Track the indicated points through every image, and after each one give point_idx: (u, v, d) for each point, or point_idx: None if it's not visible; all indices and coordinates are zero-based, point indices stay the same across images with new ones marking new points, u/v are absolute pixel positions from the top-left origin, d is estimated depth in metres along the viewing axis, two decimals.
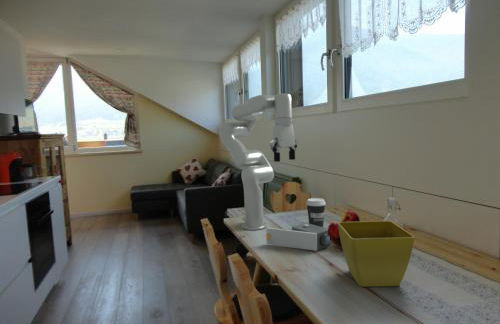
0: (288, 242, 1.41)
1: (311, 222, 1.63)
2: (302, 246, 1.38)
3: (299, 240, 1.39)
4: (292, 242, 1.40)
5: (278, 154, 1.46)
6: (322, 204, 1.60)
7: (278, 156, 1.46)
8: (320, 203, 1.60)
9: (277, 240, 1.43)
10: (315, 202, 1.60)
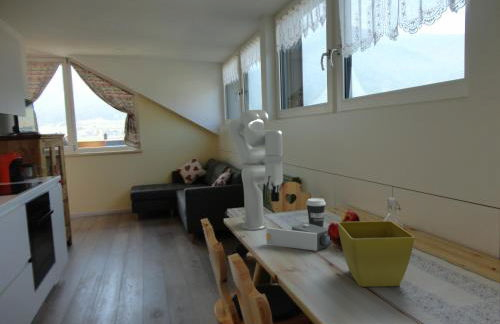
0: (288, 242, 1.41)
1: (311, 222, 1.63)
2: (302, 246, 1.38)
3: (299, 240, 1.39)
4: (292, 242, 1.40)
5: (277, 194, 1.44)
6: (322, 204, 1.60)
7: (277, 196, 1.44)
8: (320, 203, 1.60)
9: (277, 240, 1.43)
10: (315, 202, 1.60)
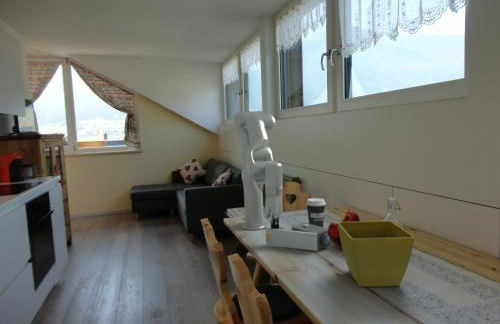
0: (288, 242, 1.41)
1: (311, 222, 1.63)
2: (302, 246, 1.38)
3: (299, 240, 1.39)
4: (292, 242, 1.40)
5: (277, 226, 1.45)
6: (322, 204, 1.60)
7: (277, 228, 1.45)
8: (320, 203, 1.60)
9: (277, 240, 1.43)
10: (315, 202, 1.60)
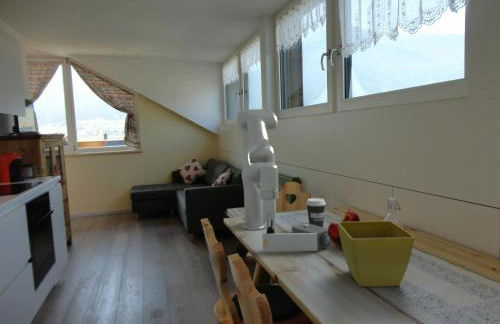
0: (287, 246, 1.37)
1: (311, 222, 1.63)
2: (303, 248, 1.36)
3: (299, 242, 1.36)
4: (291, 245, 1.36)
5: (273, 231, 1.39)
6: (322, 204, 1.60)
7: (273, 233, 1.39)
8: (320, 203, 1.60)
9: (275, 245, 1.37)
10: (315, 202, 1.60)
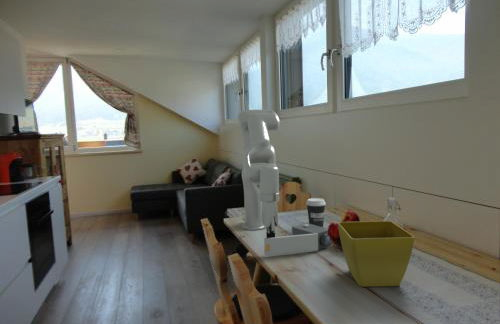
0: (289, 249, 1.33)
1: (311, 222, 1.63)
2: (304, 249, 1.35)
3: (301, 243, 1.34)
4: (293, 248, 1.34)
5: (274, 234, 1.34)
6: (322, 204, 1.60)
7: (274, 236, 1.34)
8: (320, 203, 1.60)
9: (277, 249, 1.32)
10: (315, 202, 1.60)
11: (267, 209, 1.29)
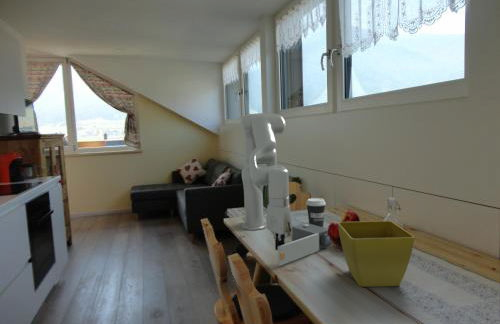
0: (298, 253, 1.28)
1: (311, 222, 1.63)
2: (309, 251, 1.32)
3: (307, 246, 1.31)
4: (301, 251, 1.29)
5: (283, 241, 1.26)
6: (322, 204, 1.60)
7: (283, 243, 1.26)
8: (320, 203, 1.60)
9: (289, 256, 1.25)
10: (315, 202, 1.60)
11: (283, 214, 1.20)
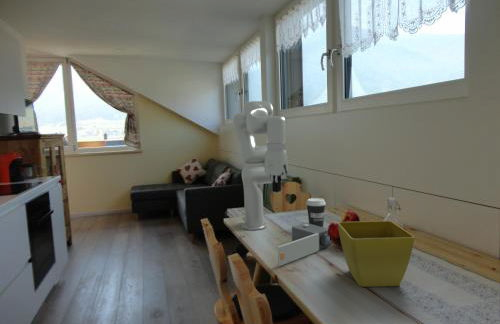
0: (298, 253, 1.28)
1: (311, 222, 1.63)
2: (309, 251, 1.32)
3: (307, 246, 1.31)
4: (301, 251, 1.29)
5: (280, 183, 1.39)
6: (322, 204, 1.60)
7: (280, 185, 1.39)
8: (320, 203, 1.60)
9: (289, 256, 1.25)
10: (315, 202, 1.60)
11: (279, 157, 1.32)
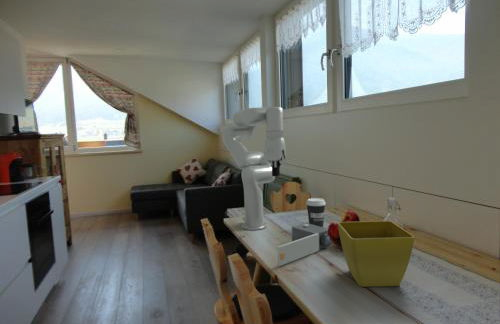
0: (298, 253, 1.28)
1: (311, 222, 1.63)
2: (309, 251, 1.32)
3: (307, 246, 1.31)
4: (301, 251, 1.29)
5: None
6: (322, 204, 1.60)
7: (278, 170, 1.51)
8: (320, 203, 1.60)
9: (289, 256, 1.25)
10: (315, 202, 1.60)
11: (278, 143, 1.45)
